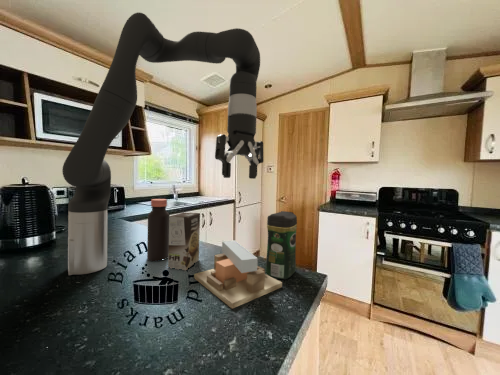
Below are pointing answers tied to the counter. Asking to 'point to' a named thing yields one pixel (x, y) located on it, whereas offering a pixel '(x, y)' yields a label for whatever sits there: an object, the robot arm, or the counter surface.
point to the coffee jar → (281, 245)
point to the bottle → (158, 231)
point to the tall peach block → (228, 271)
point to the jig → (238, 285)
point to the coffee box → (183, 240)
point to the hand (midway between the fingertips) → (240, 178)
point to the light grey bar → (239, 256)
